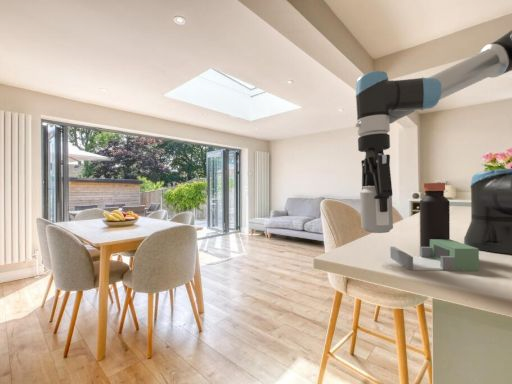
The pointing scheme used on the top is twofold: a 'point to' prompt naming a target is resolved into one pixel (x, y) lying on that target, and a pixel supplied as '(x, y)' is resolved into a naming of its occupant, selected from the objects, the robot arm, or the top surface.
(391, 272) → the top surface
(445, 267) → the green and grey holder
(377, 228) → the can
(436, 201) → the bottle
